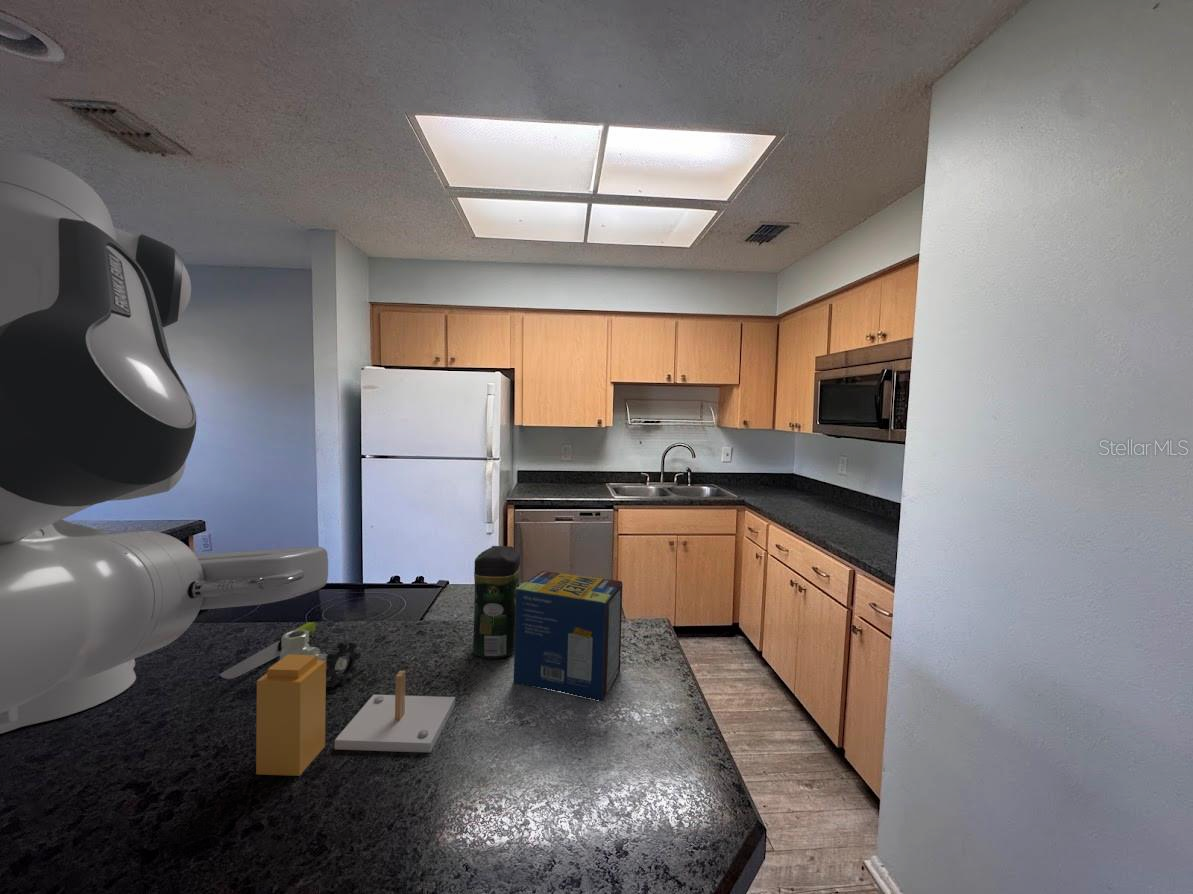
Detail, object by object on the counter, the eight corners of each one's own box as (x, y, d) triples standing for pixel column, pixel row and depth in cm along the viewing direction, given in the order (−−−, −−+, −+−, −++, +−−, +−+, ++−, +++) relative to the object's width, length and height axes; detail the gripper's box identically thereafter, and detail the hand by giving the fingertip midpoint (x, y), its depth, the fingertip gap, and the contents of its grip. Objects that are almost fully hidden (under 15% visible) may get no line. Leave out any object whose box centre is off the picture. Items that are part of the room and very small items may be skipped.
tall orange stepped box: (256, 774, 53) (256, 672, 53) (285, 744, 58) (286, 651, 58) (299, 775, 53) (300, 673, 53) (325, 746, 58) (326, 652, 58)
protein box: (539, 654, 84) (541, 569, 84) (621, 670, 79) (624, 580, 79) (511, 683, 74) (513, 588, 74) (603, 703, 70) (606, 601, 69)
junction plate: (334, 749, 58) (335, 692, 58) (373, 702, 68) (374, 654, 68) (430, 752, 58) (431, 696, 58) (455, 705, 68) (456, 656, 68)
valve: (265, 681, 73) (326, 696, 69) (265, 640, 72) (326, 653, 69) (303, 662, 79) (360, 674, 76) (303, 624, 79) (361, 635, 75)
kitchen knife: (222, 694, 67) (224, 673, 67) (214, 694, 67) (215, 673, 67) (315, 636, 89) (316, 620, 89) (309, 636, 89) (310, 620, 89)
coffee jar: (481, 635, 91) (483, 541, 90) (521, 637, 91) (524, 543, 90) (466, 660, 81) (469, 555, 80) (511, 662, 81) (514, 556, 80)
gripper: (279, 540, 34) (356, 526, 48) (-43, 561, 31) (135, 540, 45) (279, 629, 33) (357, 589, 47) (-49, 657, 31) (133, 606, 45)
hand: (246, 565), depth 46 cm, fingers open, 8 cm apart
